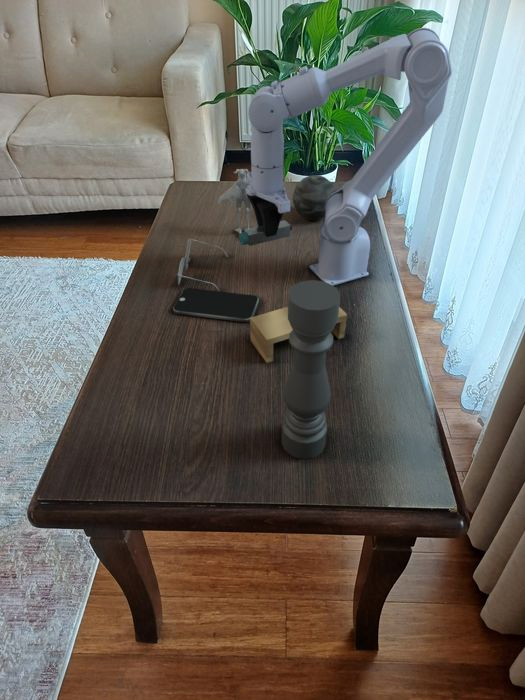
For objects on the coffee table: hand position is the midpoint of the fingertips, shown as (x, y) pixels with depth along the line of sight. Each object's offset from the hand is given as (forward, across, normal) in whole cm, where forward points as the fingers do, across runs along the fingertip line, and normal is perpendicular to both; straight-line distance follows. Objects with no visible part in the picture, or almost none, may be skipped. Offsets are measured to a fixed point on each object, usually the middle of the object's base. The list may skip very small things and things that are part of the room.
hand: (267, 231), depth 102 cm
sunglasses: (+9, -4, -12) cm, 16 cm away
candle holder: (+9, +42, -15) cm, 46 cm away
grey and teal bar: (+1, 0, 0) cm, 1 cm away
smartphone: (+8, +8, -14) cm, 18 cm away
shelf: (+8, +22, -5) cm, 24 cm away
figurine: (+9, -16, +2) cm, 18 cm away
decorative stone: (+9, -16, +20) cm, 27 cm away
